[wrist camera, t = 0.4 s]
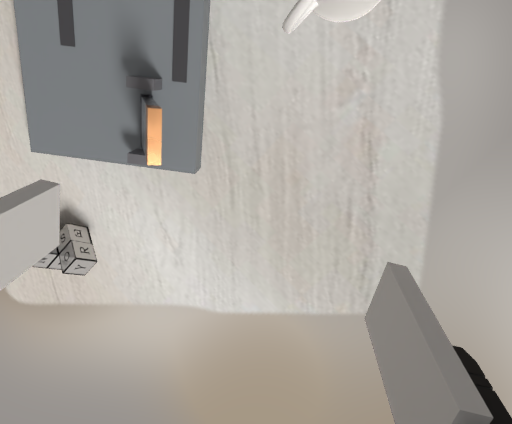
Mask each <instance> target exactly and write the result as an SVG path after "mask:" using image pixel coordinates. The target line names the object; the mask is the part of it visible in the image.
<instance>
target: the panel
mask: <svg viewBox="0 0 512 424" xmlns="http://www.w3.org/2000/svg"><path fill="white" fill-rule="evenodd" d="M14 8H15V17H16V25H17V34H18V43H19V51H20V60H21V69H22V77H23V86H24V95H25V103H26V112H27V121H28V129H29V138H30V147H31V152H37V153H44V154H52V155H59V156H67V157H74V158H81V159H89V160H96V161H104V162H111V163H119V164H126V165H133V166H141V167H148V168H156V169H163V170H170V171H178V172H185V173H193V174H195V173H196V172H197V171H198V170H199V169H200V167H201V150H202V133H203V116H204V99H205V82H206V64H207V47H208V30H209V13H210V0H14ZM140 94H150V95H153V99H154V100H155V102H156V103H157V104H158V105H159V106H160V107H161V108H162V145H161V165H147V162H146V157H145V153H144V150H143V147H142V146H140Z"/></svg>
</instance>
